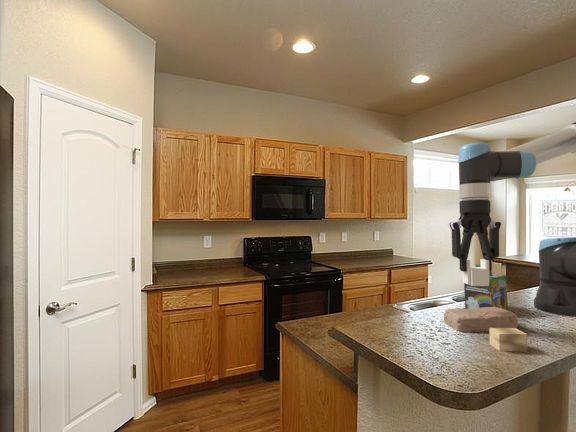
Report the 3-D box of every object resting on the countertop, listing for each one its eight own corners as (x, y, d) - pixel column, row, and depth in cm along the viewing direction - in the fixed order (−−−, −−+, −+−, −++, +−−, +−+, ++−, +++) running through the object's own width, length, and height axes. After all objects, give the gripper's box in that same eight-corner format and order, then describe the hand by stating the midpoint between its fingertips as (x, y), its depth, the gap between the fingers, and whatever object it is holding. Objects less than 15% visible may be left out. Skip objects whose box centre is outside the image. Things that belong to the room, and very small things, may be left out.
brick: (458, 333, 85) (458, 315, 85) (442, 323, 93) (442, 307, 93) (519, 332, 86) (519, 314, 86) (498, 322, 94) (497, 305, 94)
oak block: (515, 345, 77) (515, 328, 77) (527, 351, 73) (526, 334, 73) (489, 344, 77) (489, 327, 77) (499, 351, 73) (499, 333, 73)
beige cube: (478, 282, 92) (478, 266, 92) (488, 285, 88) (488, 269, 88) (463, 282, 92) (463, 266, 92) (472, 286, 88) (472, 269, 88)
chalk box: (508, 311, 103) (507, 265, 103) (492, 315, 99) (491, 267, 99) (479, 304, 111) (478, 261, 111) (463, 308, 107) (462, 264, 107)
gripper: (496, 200, 94) (497, 280, 94) (437, 200, 94) (438, 280, 93) (515, 198, 86) (516, 285, 86) (450, 199, 86) (451, 286, 86)
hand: (475, 282), depth 90 cm, fingers closed on beige cube, 4 cm apart
